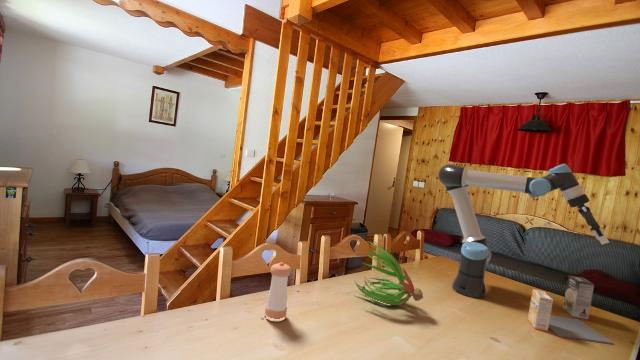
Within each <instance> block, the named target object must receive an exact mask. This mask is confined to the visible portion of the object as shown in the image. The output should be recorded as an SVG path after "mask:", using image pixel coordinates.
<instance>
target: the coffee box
mask: <svg viewBox="0 0 640 360" xmlns="http://www.w3.org/2000/svg"><path fill="white" fill-rule="evenodd" d="M594 288H595V284H594V283H593V282H591V281H589V280H588V279H586V278H585V277H581V276H576V275H567V282H566V288H565V294H564V297H563V303H562V309H564V311H566V312H567V313H568V314H569V315H570V316H572V317H573V318H578V319H584V320H589V315H590V314H589V313H590V310H591V305H592V300H593V293H594V290H595V289H594Z"/></svg>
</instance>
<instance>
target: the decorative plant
mask: <svg viewBox="0 0 640 360" xmlns="http://www.w3.org/2000/svg"><path fill="white" fill-rule="evenodd" d="M366 242H368V245H369V248H370V251H366V250H365V251H363V250H362V251H363V253H366V256H368V257H369V258H371V259H373V260H375V262H377V263H379V265H381V266H382V267H380V266H377V265H372V264H370V263H364V262H362V264H363V265H365V266H367V267H369V268H372V269H373V270H372V272H375V273H377V274H382V276H387V277H388V276H389V278H391V277H393V278H395V279H396V278H397V280H398V283H397V282H394V281H393V280H389V279H387V278H386V277H381V276H377V275H372V276H374V277H369V278H367V277H366V276H364V279H365V280H366V281H364V284H365V285H366V286H364V285H362V286H360V284H358V282H357V281H355V279H354V283H355V285H356V287H357V288H358V290H359V291H360V292H361V293H362V297H363V296H365V295H366V296H368V297H366V296H365V297H366V298H368V299H369V297H370V298H372V299H374V300H377V301H380V302H383V303H386V304H390V305H399V306H401V305H405V304H406V303H407V302H409V300H410V299H411V298H413V300H414V301H416V302H419V301H421V300H422V299H424V293H423V290H422V289H421V288H419V287H416V288H415V287H414V284H413V280H412V278H411V277H410V276H409V274H408V272H407V271H406V270H405V268H404V267H401V265H400V263H399V262H398V260H397V259H396V258H395V257H394V255H393V254H392V253H391V252H390V251H388V250H387V249H386V248H385V247H383V246H381V245H380V244H379V243H377V242H376V241H373V240H372V241H371V240H369V241H366ZM373 242H374V243H375V244H374V243H373ZM376 244H377V245H376ZM371 245H372V246H374V247H375V248H376V249H377V250H379V251H377V250H373V249H372V247H371ZM369 254H370V255H371V256H370V255H369ZM375 270H376V271H375ZM375 277H377V278H375ZM369 279H371V280H376V281H371V280H369ZM368 284H369V285H368ZM376 285H379V286H376ZM370 286H372V287H374V288H372V287H370ZM350 287H351V285H350ZM366 287H367V288H368V289H367V288H366ZM388 290H389V291H388ZM390 290H394V291H395V292H394V291H393V292H392V291H390ZM363 293H364V294H365V295H364V294H363ZM405 295H406V296H405ZM365 297H364V298H365Z"/></svg>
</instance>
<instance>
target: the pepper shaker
mask: <svg viewBox="0 0 640 360" xmlns="http://www.w3.org/2000/svg"><path fill="white" fill-rule="evenodd" d="M269 271H270V274H271V280H270V281H271V282H270V288H269V292H268V294H267V303H266V305H265V310H264V315H265V314H266V315H267V316H268V317H270V318H274V319H280V318H283V317H285V316H286V317H287V313H288V307H287V301H288V281H289V276H290V275H291V273H292V269H291V267H290V266H289V265H288V264H287V263H284V262H282V261H281V262H279V263H274V264H273V265H272V266H271V267H270V269H269Z"/></svg>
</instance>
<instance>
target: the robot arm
mask: <svg viewBox="0 0 640 360" xmlns="http://www.w3.org/2000/svg"><path fill="white" fill-rule="evenodd" d="M548 172H549V174H547V175H545V176H542V177H532V176H531V177H530V176H525V175H524V176H523V175H516V174H514V175H513V174H506V173H499V172H498V173H497V172H488V171H482V170H472V169H468V167H465V166H461V165H458V164H453V163H447V164H444V165H443V166H441V168H439V170H438V174H437V175H438V176H437V178H438V180H439V182H440V183H441V184H443V185H444V187H445V191H446V193H448V194H449V195H450V196H451V200H452V203H453V207H454V209H455V212H456V213H455V214H456V217H457V219H458V223H459V227H460V229H461V233H462V236H463V239H462V241H461V243H462V245H461V248H460V250H461V251H460V256H459V257H460V258H459V263H458V269H457V274H456V276H455V278H454V279H453V281H452V284H451V288H453V289H455V290H456V291H458V292H460V293H462V294H461V295H463V294H464V295H463V296H466V295H468V296H467V297H469V296H471V298H474V297H476V299H484V298H486V296H487V289H486V283H485V275H486V268H487V265H488V263H489V262H490V261H491V259H492V257H493V256H492V254H493V253H492V248H491V247H490V245H489V243H488V240H487V237H486V236H484V235H483V234H482V232H481V230H480V226H479V223H478V219H477V217H476V213H475V209H474V207H473V203H472V201H471V198H470V194H469V188H470V186H471V187H478V188H484V189H492V190H497V191H498V190H500V191H507V192H514V193H519V194H520V193H521V194H526V195H529V197H530V198H531V199H535V198H538V197H543V196H546V195H548V194H549V193H551V192H553V191H555V190H558V189H559V190H560V192H561V194H562V196H563V198H564V199H565V200H566V202H567V203H568V205H569V207H570V208H576V207H577V211H578V214H580V215H581V217H582V218H583V219H584V220H585V221H586V224H587V225H588V227H589V228H590V231H591V232H592V233H593V235H594V237H595V239H596V240H597V241H599V243H600V244H601V245H605V244H608V243H610V241H609V239H608V237H607V236H606V235H605V233H604V231H603V230H602V228H601V226H600V224H599V223H598V222H597V221H596V218H595V217H594V216H593V213H592V211H591V208H590V207H589V206H586V205H585V204H587V203H589V202H590V199H589V197H588V195H587V194H586V193H585V191H584V186H583V185H581V184H580V183H579V181H578V179H577V178H576V175H574V173H573V171H572V170H571V168H570V167H569V166H568V165H567V164H566V163H561V164H559V165H556V166H554V167H553V168H550V169H549V170H548ZM453 289H452V290H453ZM455 290H454V291H455ZM456 291H455V292H456ZM458 292H457V293H458ZM460 293H459V294H460Z"/></svg>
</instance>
